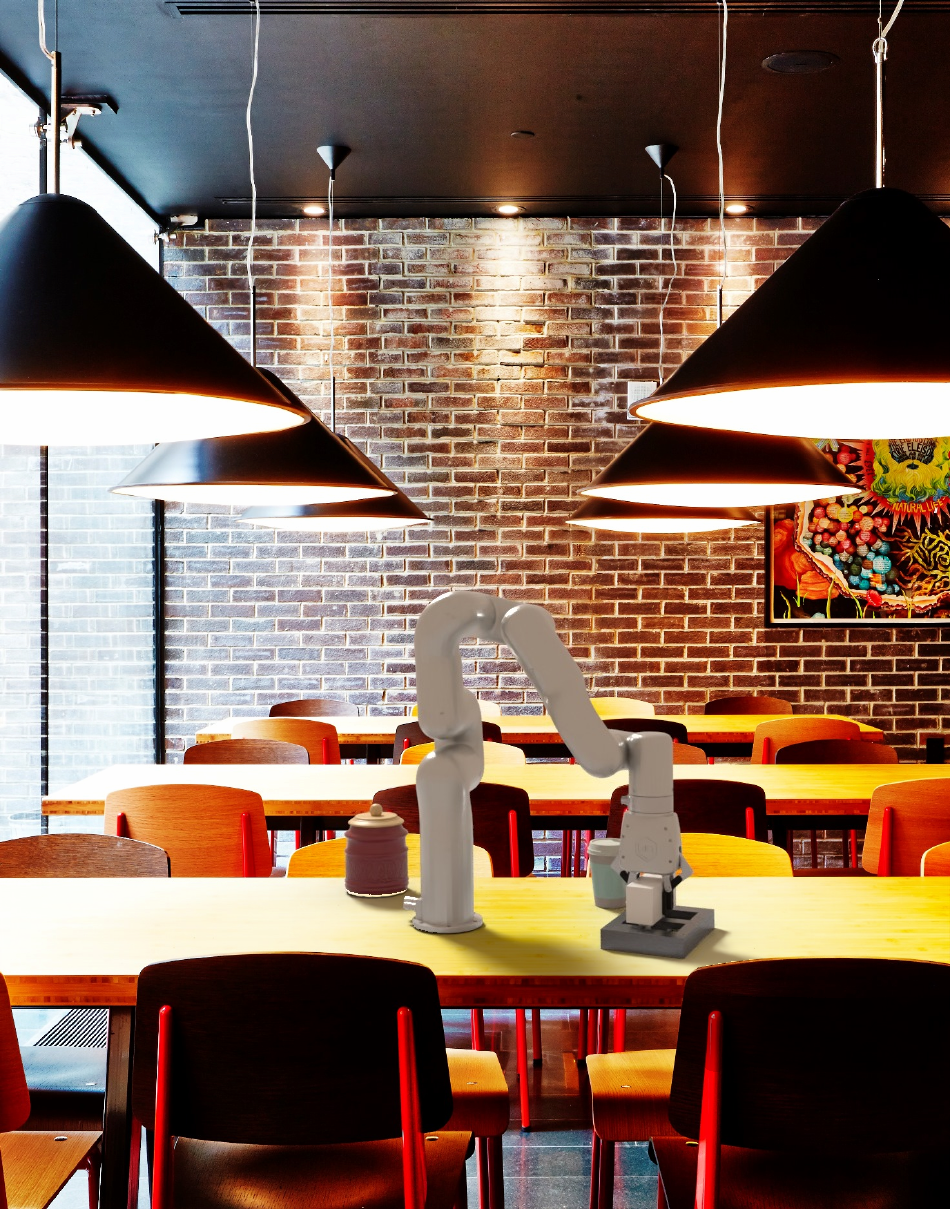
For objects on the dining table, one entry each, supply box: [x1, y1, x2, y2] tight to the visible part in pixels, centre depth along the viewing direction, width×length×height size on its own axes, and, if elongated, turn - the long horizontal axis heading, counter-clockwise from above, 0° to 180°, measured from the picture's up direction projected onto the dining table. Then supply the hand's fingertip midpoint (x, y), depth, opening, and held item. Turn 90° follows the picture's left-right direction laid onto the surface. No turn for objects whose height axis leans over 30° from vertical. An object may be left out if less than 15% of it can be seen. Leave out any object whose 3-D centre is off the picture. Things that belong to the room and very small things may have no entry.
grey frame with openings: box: [599, 904, 716, 960], centre depth 189 cm, size 14×20×3 cm
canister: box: [343, 803, 410, 895], centre depth 225 cm, size 13×13×18 cm
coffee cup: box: [586, 837, 627, 909], centre depth 212 cm, size 8×9×12 cm
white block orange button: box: [625, 871, 677, 932], centre depth 189 cm, size 4×14×10 cm, turn 154°
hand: (651, 910), depth 189 cm, fingers closed on white block orange button, 4 cm apart
